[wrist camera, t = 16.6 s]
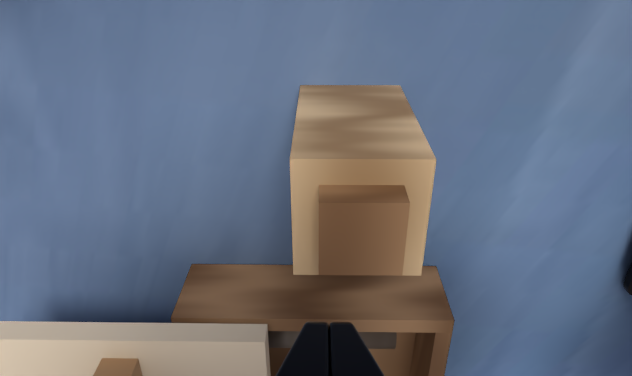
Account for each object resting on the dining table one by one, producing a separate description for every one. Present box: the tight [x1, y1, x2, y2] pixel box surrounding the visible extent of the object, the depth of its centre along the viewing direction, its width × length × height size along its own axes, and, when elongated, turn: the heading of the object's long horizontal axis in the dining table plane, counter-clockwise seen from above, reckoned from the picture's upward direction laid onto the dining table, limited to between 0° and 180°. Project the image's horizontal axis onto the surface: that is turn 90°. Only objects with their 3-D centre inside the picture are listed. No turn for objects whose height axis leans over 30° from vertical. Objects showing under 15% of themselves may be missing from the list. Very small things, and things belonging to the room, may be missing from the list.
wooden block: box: [290, 85, 436, 276], centre depth 17 cm, size 4×4×8 cm
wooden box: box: [171, 264, 454, 376], centre depth 24 cm, size 12×10×4 cm
